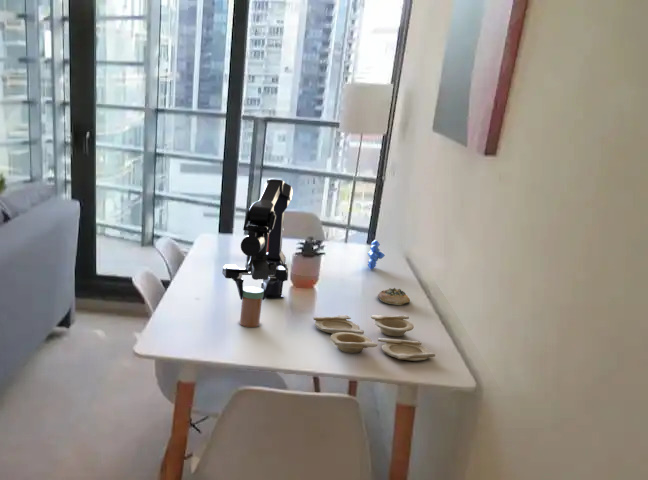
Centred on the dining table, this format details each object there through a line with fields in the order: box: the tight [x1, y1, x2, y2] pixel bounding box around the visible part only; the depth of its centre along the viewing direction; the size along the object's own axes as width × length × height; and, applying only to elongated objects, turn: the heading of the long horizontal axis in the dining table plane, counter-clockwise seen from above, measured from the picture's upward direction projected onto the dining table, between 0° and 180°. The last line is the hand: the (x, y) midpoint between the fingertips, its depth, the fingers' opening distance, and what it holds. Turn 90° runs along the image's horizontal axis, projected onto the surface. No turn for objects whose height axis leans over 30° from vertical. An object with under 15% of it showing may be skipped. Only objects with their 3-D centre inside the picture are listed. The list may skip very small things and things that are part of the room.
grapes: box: [367, 239, 386, 270], centre depth 289 cm, size 12×7×12 cm, turn 160°
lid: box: [243, 286, 264, 299], centre depth 217 cm, size 7×7×2 cm
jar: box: [239, 297, 263, 328], centre depth 219 cm, size 6×6×11 cm
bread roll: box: [377, 287, 411, 306], centre depth 250 cm, size 11×11×5 cm
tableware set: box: [312, 314, 436, 362], centre depth 211 cm, size 35×29×4 cm
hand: (252, 299), depth 218 cm, fingers closed on lid, 6 cm apart
